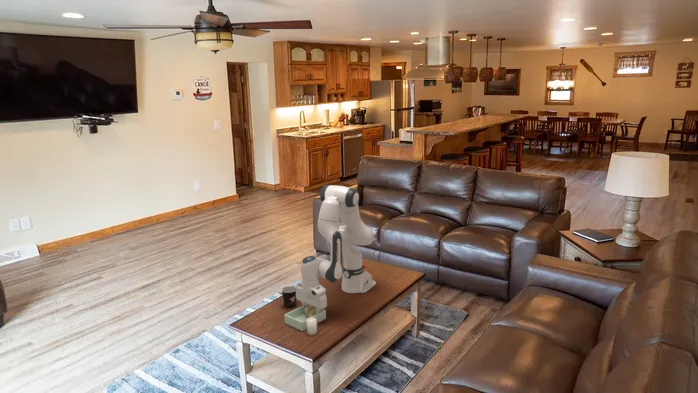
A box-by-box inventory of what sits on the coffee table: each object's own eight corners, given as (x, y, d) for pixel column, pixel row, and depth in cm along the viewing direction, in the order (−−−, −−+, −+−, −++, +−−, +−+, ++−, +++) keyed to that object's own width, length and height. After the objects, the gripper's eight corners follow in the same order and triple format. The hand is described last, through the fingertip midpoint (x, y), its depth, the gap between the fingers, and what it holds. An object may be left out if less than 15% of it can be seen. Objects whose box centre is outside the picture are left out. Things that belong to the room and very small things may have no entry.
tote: (308, 311, 261) (308, 302, 259) (326, 318, 252) (325, 309, 251) (284, 323, 248) (284, 314, 247) (302, 331, 240) (301, 322, 238)
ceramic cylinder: (312, 328, 242) (311, 316, 240) (319, 332, 239) (318, 319, 237) (304, 332, 238) (304, 320, 237) (311, 336, 235) (311, 323, 234)
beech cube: (305, 317, 253) (304, 308, 252) (311, 313, 257) (311, 305, 255) (311, 319, 250) (311, 311, 249) (318, 316, 253) (318, 307, 252)
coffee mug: (283, 310, 263) (282, 293, 260) (282, 303, 271) (281, 286, 269) (304, 307, 265) (303, 291, 262) (302, 300, 273) (301, 284, 271)
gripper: (292, 283, 254) (293, 307, 257) (319, 294, 240) (320, 319, 244) (301, 280, 258) (302, 303, 261) (328, 290, 245) (329, 314, 248)
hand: (311, 311), depth 252 cm, fingers open, 8 cm apart
